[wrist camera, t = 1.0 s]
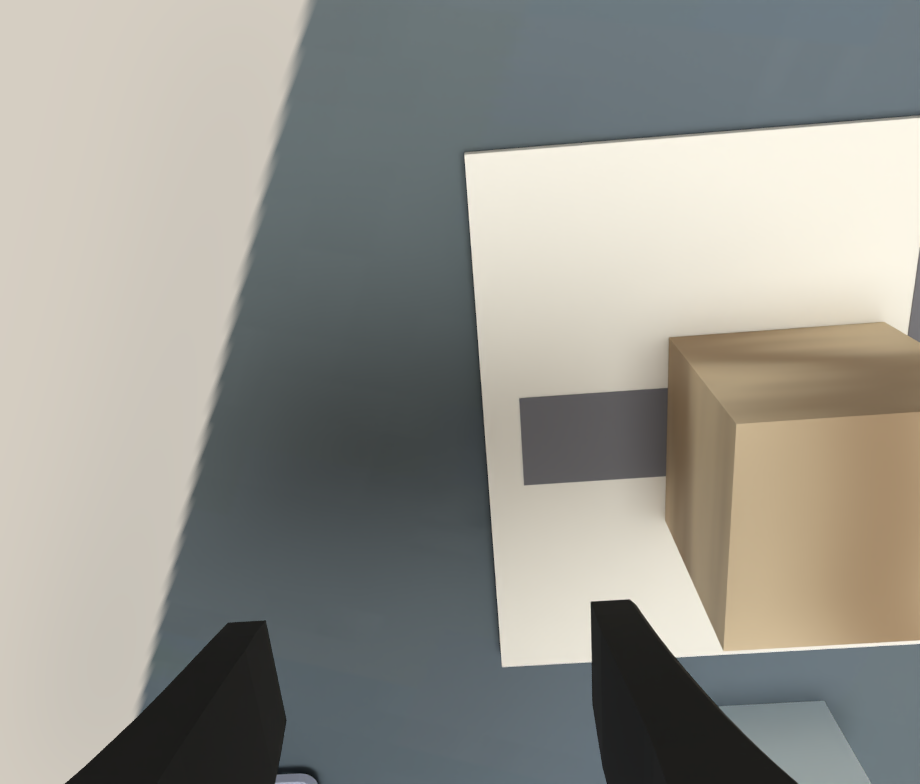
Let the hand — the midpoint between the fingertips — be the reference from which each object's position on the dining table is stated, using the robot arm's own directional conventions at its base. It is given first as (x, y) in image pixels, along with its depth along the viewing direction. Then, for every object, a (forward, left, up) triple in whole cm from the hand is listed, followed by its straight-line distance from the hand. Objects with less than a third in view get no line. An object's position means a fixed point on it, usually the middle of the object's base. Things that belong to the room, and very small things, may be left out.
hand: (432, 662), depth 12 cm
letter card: (+8, 0, -8) cm, 12 cm away
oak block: (+8, 0, -8) cm, 11 cm away
